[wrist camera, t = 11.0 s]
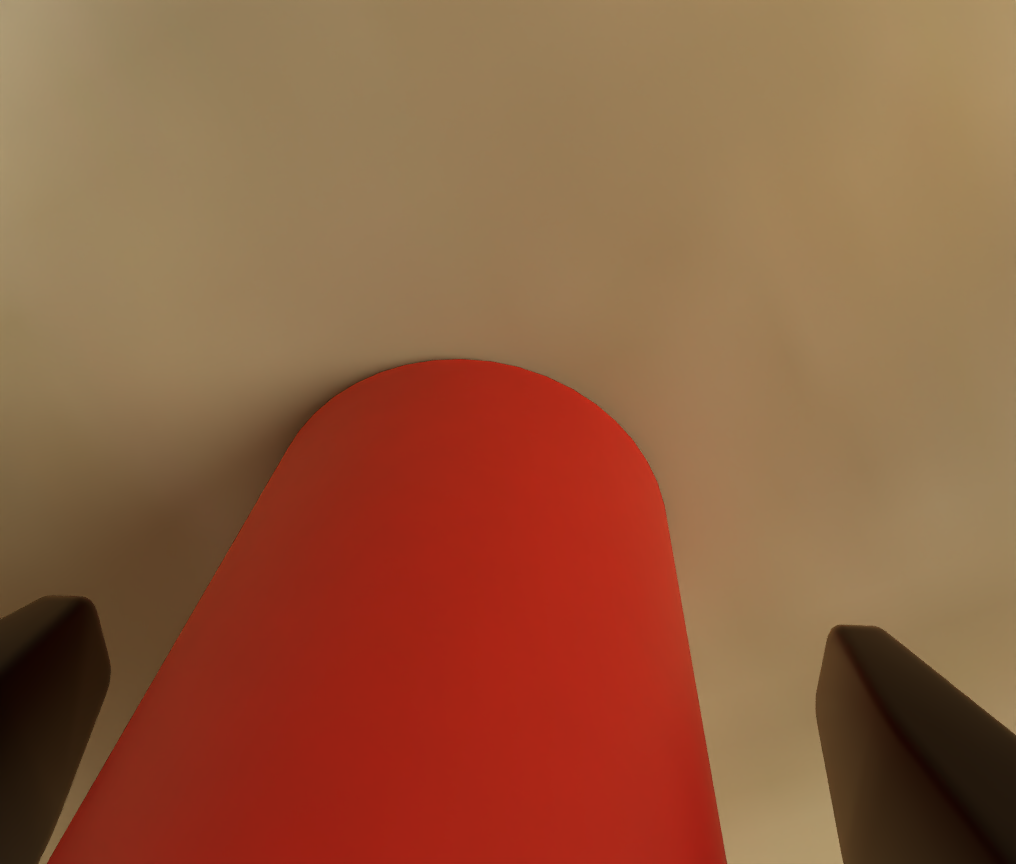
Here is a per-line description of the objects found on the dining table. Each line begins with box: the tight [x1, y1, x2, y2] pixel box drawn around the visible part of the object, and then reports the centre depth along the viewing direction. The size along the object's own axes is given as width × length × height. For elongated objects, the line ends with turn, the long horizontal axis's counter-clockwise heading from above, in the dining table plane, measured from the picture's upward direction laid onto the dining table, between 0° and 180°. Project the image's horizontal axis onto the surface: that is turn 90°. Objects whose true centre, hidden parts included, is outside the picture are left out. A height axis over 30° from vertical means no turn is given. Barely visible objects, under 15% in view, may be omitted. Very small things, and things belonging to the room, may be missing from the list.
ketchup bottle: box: [47, 359, 727, 864], centre depth 7 cm, size 4×4×8 cm
